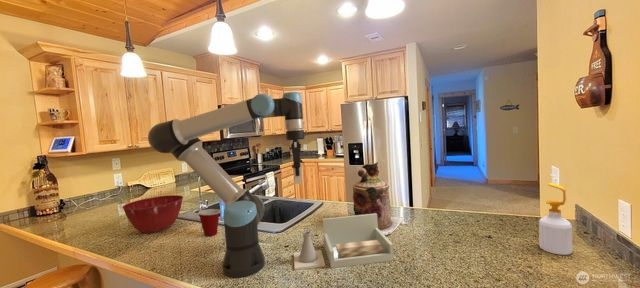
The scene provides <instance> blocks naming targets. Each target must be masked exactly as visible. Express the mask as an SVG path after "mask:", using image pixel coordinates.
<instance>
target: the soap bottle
mask: <svg viewBox="0 0 640 288" xmlns="http://www.w3.org/2000/svg"><path fill="white" fill-rule="evenodd" d="M547 185H548V186H549V187H551V188H552V187H553V188H555V189H559V190H560V191H562V193H563V194H562V195H563V196H562V197H563V198H562V199H563V200H562V201H558V200H551V199H550V200H549V199H548V200H546V202H545V203H546V204H547V205H549V206H551V208H549V209H548V215H545V216H543V217H541V218H539V221H538V230H539V231H538V236H539V240H538V241H539V248H540V249H541V250H543V251H545V252H547V253H550V254H554V255H560V256H561V255H562V256H567V255H571V254H572V253H573V226H572V223H571V222H570V221H569V220H567V219H566V218H564V217H563V216H562V210H561V209H559V208H560V206H563V205H565V203H566V200H567V199H566V196H567V195H566V192H567V191H566V188H565V187H564V186H562V185H560V184H556V183H553V182H549V183H548V184H547Z"/></svg>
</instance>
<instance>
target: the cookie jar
mask: <svg viewBox="0 0 640 288" xmlns="http://www.w3.org/2000/svg"><path fill="white" fill-rule="evenodd" d="M378 164H379V161H376V162H375V163H365V164H364V165H362V167H361V168H360V169H359V170H358V172H357V175H358V176H359V177H360V178H361V179H360V180H359V181H357V182H356V183H355V184H353V185H352V190H353V194H352V201H353V212H354V214H353V216H355V215H365V214H375V213H376V214H377V222H378V229H379V230H380V231H381V232H382V233H383V234H384V235H385V236H387V235H391V234H392V233H393V232H394V231H395V230H396V229H398V227H399V226H400V225H401V223H403V222H404V219H405V217H404V216H403V217H401V216H400V217H399V216H392V213H393V211H392V206H391V200H390V196H389V195H390V194H389V189H390V183H389V182H387V181H386V182H385V181H382V180H381V179H380V178H379V175H380V170H379V166H378Z"/></svg>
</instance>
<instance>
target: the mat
mask: <svg viewBox="0 0 640 288" xmlns="http://www.w3.org/2000/svg"><path fill="white" fill-rule="evenodd" d="M315 251H316V253H317V257H318V258H317V259H316V260H315V261H314V262H302V261H300V259H299V257H300V253H301V251H299V252H297V251H296V252H294V253H293V262H294V263H293V264H294V271H298V270H299V271H301V270H307V269H317V268H325V267H326V263H325V259H324V256H323V252H322V249H315Z"/></svg>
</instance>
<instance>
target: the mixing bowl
mask: <svg viewBox="0 0 640 288" xmlns="http://www.w3.org/2000/svg"><path fill="white" fill-rule="evenodd" d="M183 198H184V196H182V195H180V194H179V195H177V194H175V195H174V194H172V195H170V194H169V195H160V196H154V197H148V198H143V199H138V200H135V201H132V202H129V203H126V204H124V205H123V206H122V207H121V208H122V209H123V211H124V214H125V216H126V217H127V220H128V221H129V223H130V224H131V226H133V228H134V229H135V230H137V231H138V232H142V233H144V234H151V233H157V232H161V231H164V230H167V229H169V228H170V227H171V226H172V225H173V224H174V223H176V220H177V219H178V217H179V214H180V211H181V208H182V204H183Z"/></svg>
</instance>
